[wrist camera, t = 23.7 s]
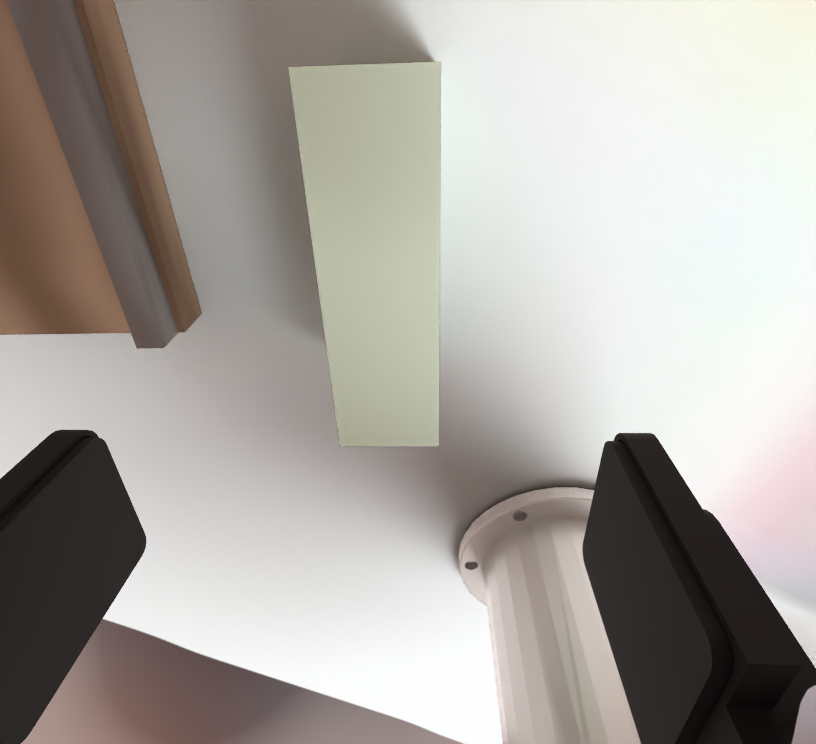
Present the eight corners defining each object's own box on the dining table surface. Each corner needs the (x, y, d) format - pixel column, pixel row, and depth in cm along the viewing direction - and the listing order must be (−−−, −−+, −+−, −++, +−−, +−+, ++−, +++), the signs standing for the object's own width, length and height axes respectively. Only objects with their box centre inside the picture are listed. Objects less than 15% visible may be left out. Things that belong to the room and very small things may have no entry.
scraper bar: (435, 63, 18) (441, 61, 13) (435, 357, 25) (438, 446, 19) (331, 66, 19) (287, 66, 13) (359, 358, 26) (339, 446, 20)
